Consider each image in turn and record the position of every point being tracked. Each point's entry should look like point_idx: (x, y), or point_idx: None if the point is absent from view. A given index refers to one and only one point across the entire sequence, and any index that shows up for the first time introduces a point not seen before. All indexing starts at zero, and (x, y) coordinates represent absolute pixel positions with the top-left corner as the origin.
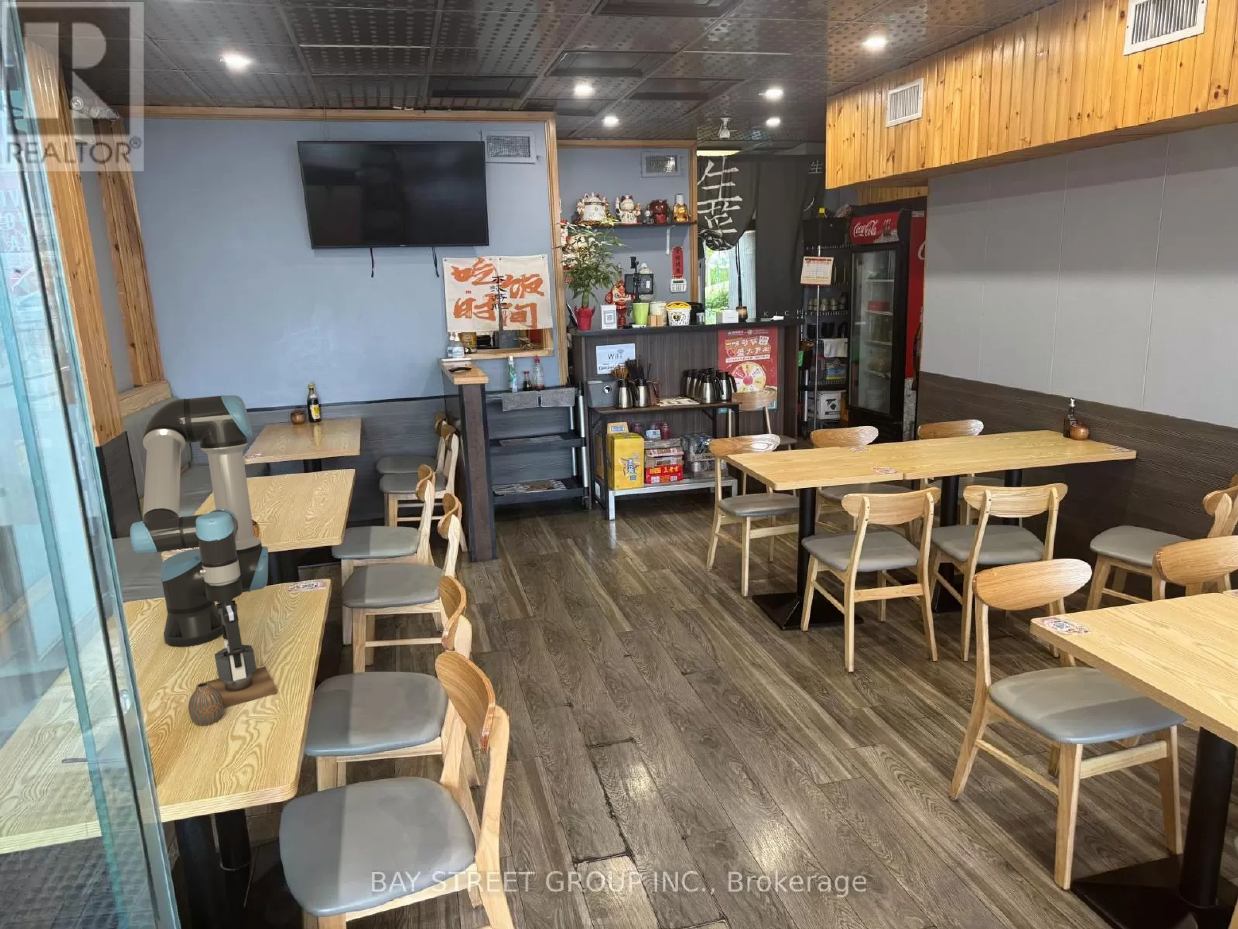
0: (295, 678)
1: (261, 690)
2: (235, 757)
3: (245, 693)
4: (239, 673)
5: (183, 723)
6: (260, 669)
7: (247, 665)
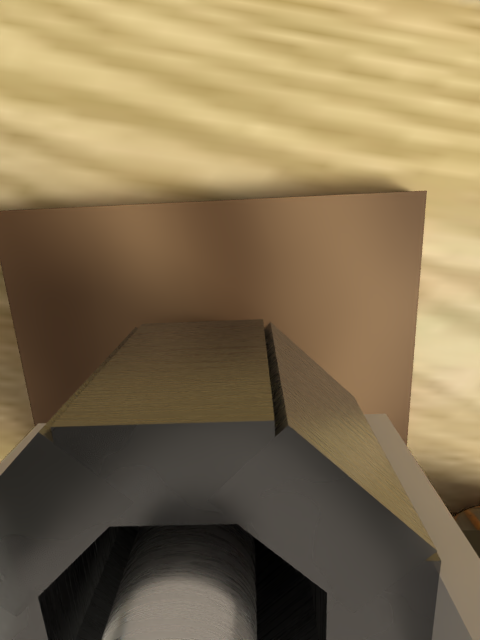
0: (251, 24)
1: (387, 287)
2: None
3: (361, 379)
4: None
5: None
6: (30, 249)
7: (370, 440)
